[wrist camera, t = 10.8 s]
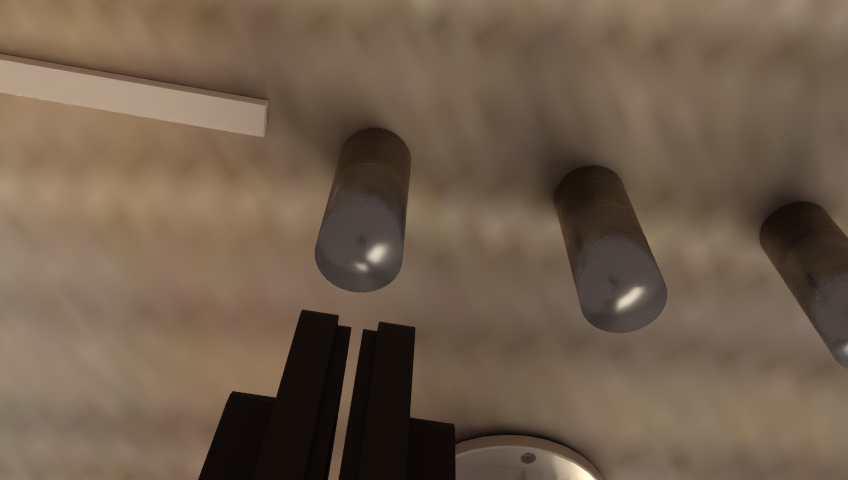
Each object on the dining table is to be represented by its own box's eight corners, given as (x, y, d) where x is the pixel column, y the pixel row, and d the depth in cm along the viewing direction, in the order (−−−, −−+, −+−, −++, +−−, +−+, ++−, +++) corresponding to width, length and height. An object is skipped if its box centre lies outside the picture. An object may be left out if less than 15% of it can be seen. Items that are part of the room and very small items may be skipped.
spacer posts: (812, 265, 37) (894, 376, 30) (336, 185, 36) (310, 284, 29) (1102, -280, 26) (1338, -296, 19) (418, -435, 24) (407, -514, 17)
